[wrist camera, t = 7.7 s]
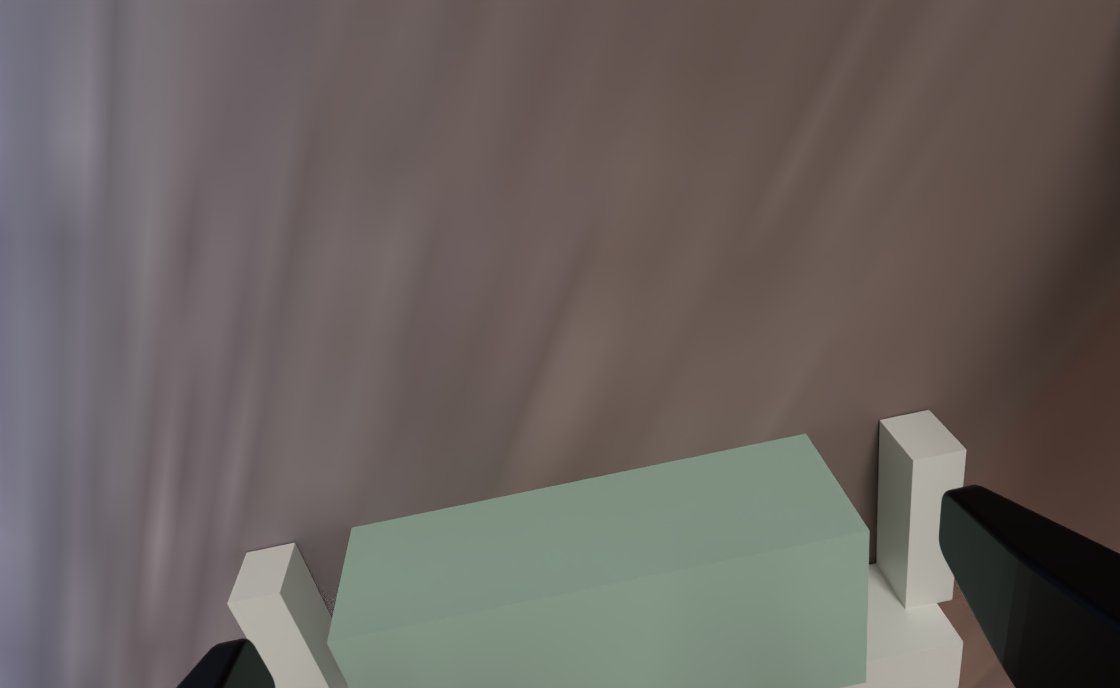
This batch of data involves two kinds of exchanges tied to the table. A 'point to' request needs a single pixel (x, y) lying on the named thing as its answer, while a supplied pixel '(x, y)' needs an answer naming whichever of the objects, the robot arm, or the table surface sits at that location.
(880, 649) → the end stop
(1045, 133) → the table surface
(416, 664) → the bar
